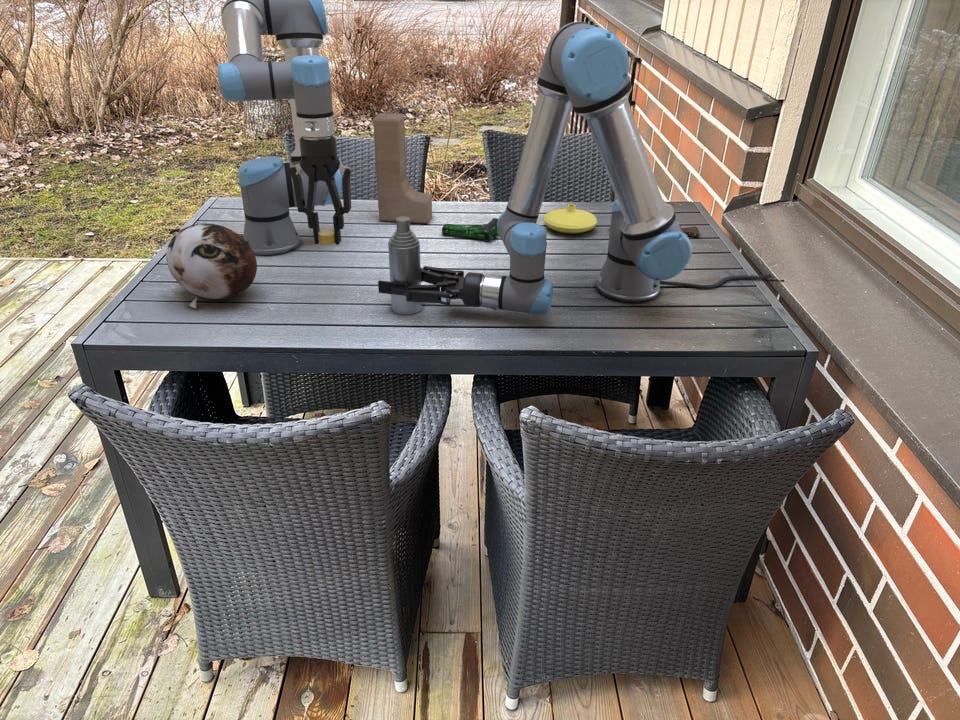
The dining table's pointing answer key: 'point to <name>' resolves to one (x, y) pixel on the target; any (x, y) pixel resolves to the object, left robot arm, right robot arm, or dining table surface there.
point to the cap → (326, 237)
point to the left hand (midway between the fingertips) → (328, 242)
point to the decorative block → (396, 173)
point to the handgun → (473, 230)
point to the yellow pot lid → (570, 220)
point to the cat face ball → (211, 261)
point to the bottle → (404, 264)
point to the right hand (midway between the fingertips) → (384, 279)
